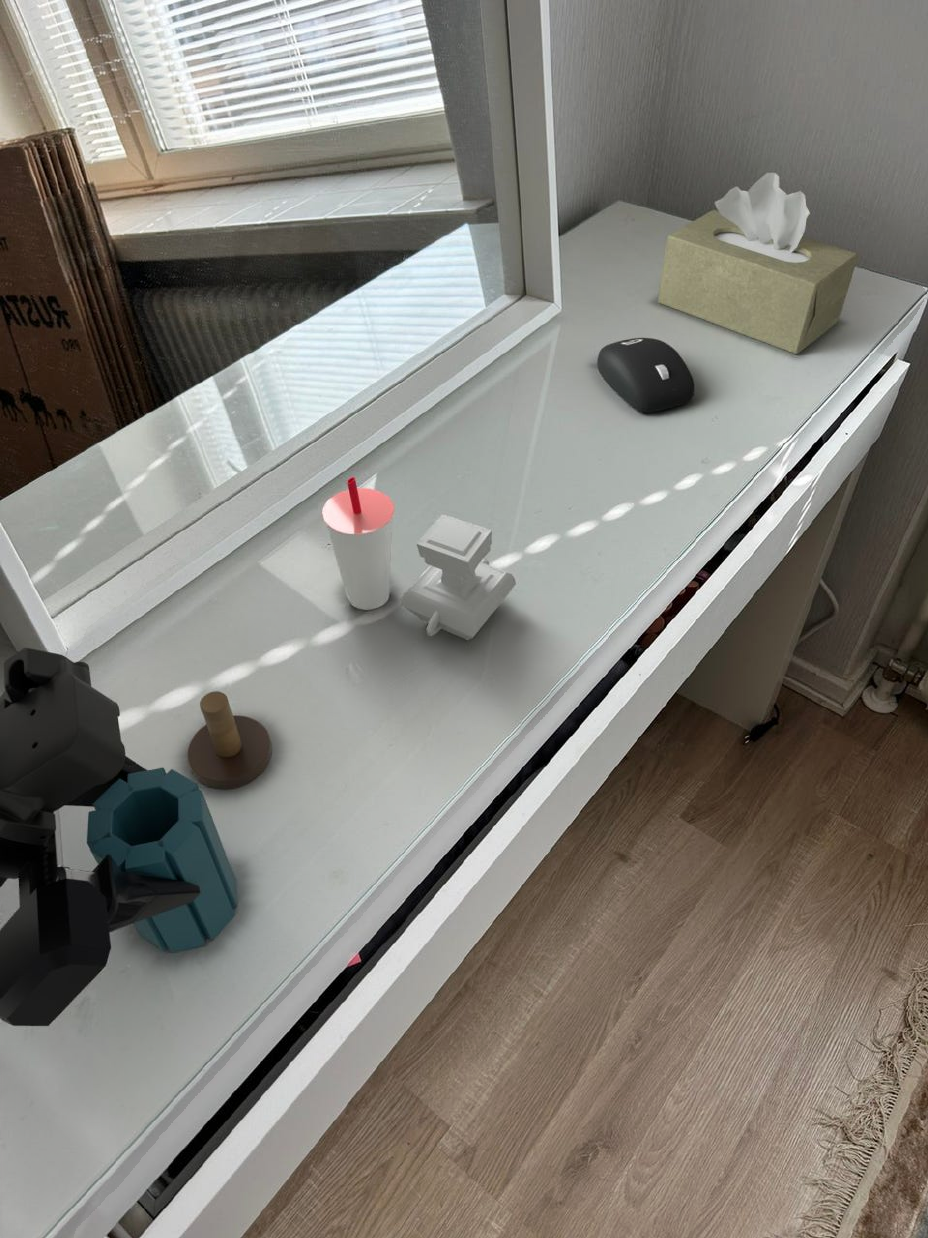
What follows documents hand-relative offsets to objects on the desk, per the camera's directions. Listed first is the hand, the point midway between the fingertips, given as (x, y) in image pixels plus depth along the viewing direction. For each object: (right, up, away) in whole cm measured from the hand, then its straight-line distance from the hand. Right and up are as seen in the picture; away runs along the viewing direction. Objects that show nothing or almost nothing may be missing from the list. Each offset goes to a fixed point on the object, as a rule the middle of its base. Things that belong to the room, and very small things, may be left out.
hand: (187, 846), depth 52 cm
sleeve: (-1, -5, +4) cm, 6 cm away
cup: (+8, +15, +23) cm, 28 cm away
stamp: (+15, +13, +21) cm, 29 cm away
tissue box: (+49, +48, +55) cm, 88 cm away
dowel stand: (0, +3, +12) cm, 12 cm away
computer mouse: (+34, +38, +45) cm, 68 cm away
